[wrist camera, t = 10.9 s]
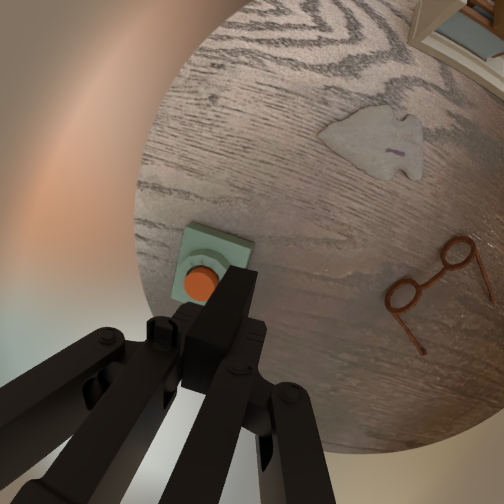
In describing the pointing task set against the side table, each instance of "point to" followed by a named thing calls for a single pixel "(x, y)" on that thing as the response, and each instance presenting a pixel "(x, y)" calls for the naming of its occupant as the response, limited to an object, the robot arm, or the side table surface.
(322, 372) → the side table surface
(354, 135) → the decorative stone
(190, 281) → the button
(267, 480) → the robot arm
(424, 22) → the window frame
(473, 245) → the glasses
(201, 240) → the button box
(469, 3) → the pane
